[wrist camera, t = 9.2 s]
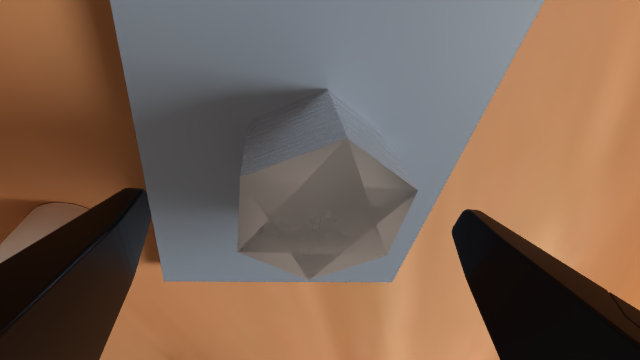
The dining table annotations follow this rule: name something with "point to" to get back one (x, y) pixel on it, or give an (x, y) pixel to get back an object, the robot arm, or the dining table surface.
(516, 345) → the robot arm
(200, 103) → the board
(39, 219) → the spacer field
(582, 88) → the dining table surface
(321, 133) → the grey faceted polyhedron
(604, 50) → the dining table surface
